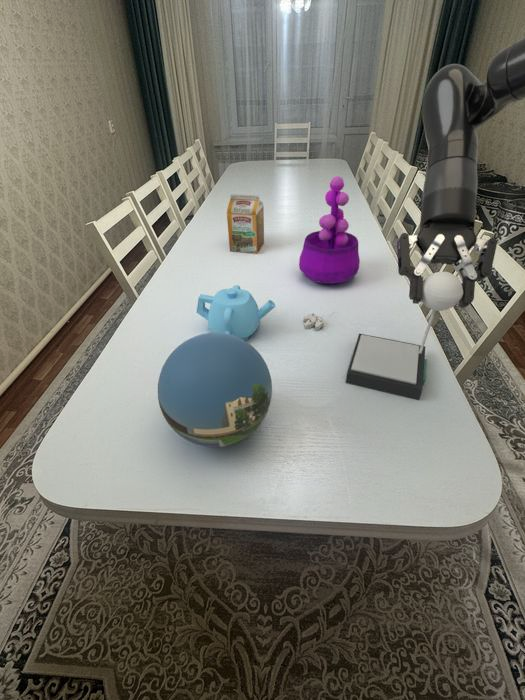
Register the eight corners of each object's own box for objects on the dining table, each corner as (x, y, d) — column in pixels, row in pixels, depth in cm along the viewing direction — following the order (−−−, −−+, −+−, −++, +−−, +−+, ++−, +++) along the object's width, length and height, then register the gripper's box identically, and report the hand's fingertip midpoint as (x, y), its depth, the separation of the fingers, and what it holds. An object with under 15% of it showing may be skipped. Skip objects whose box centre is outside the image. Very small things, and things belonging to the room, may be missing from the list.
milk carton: (264, 242, 139) (263, 191, 128) (257, 253, 131) (255, 199, 120) (238, 240, 142) (234, 190, 130) (229, 251, 134) (225, 198, 122)
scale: (424, 356, 84) (428, 344, 81) (422, 401, 73) (426, 388, 70) (357, 343, 88) (359, 331, 86) (345, 382, 77) (347, 370, 75)
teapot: (191, 348, 88) (184, 307, 81) (206, 311, 101) (201, 273, 94) (272, 352, 86) (272, 310, 79) (277, 314, 99) (277, 275, 92)
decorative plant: (290, 269, 121) (293, 172, 102) (339, 260, 125) (350, 166, 106) (313, 295, 107) (321, 188, 88) (368, 285, 111) (387, 181, 92)
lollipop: (394, 351, 62) (416, 272, 53) (413, 337, 65) (436, 261, 56) (427, 369, 59) (456, 288, 49) (445, 353, 61) (476, 274, 52)
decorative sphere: (176, 393, 76) (156, 313, 64) (268, 387, 77) (266, 307, 64) (162, 475, 61) (133, 392, 48) (277, 466, 61) (277, 382, 49)
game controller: (298, 326, 94) (298, 318, 93) (318, 307, 102) (319, 299, 100) (317, 333, 92) (317, 324, 90) (337, 313, 99) (338, 305, 97)
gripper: (405, 183, 53) (395, 294, 51) (512, 186, 51) (505, 302, 49) (395, 208, 60) (385, 306, 59) (487, 212, 58) (480, 314, 56)
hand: (440, 304), depth 54 cm, fingers closed on lollipop, 6 cm apart
